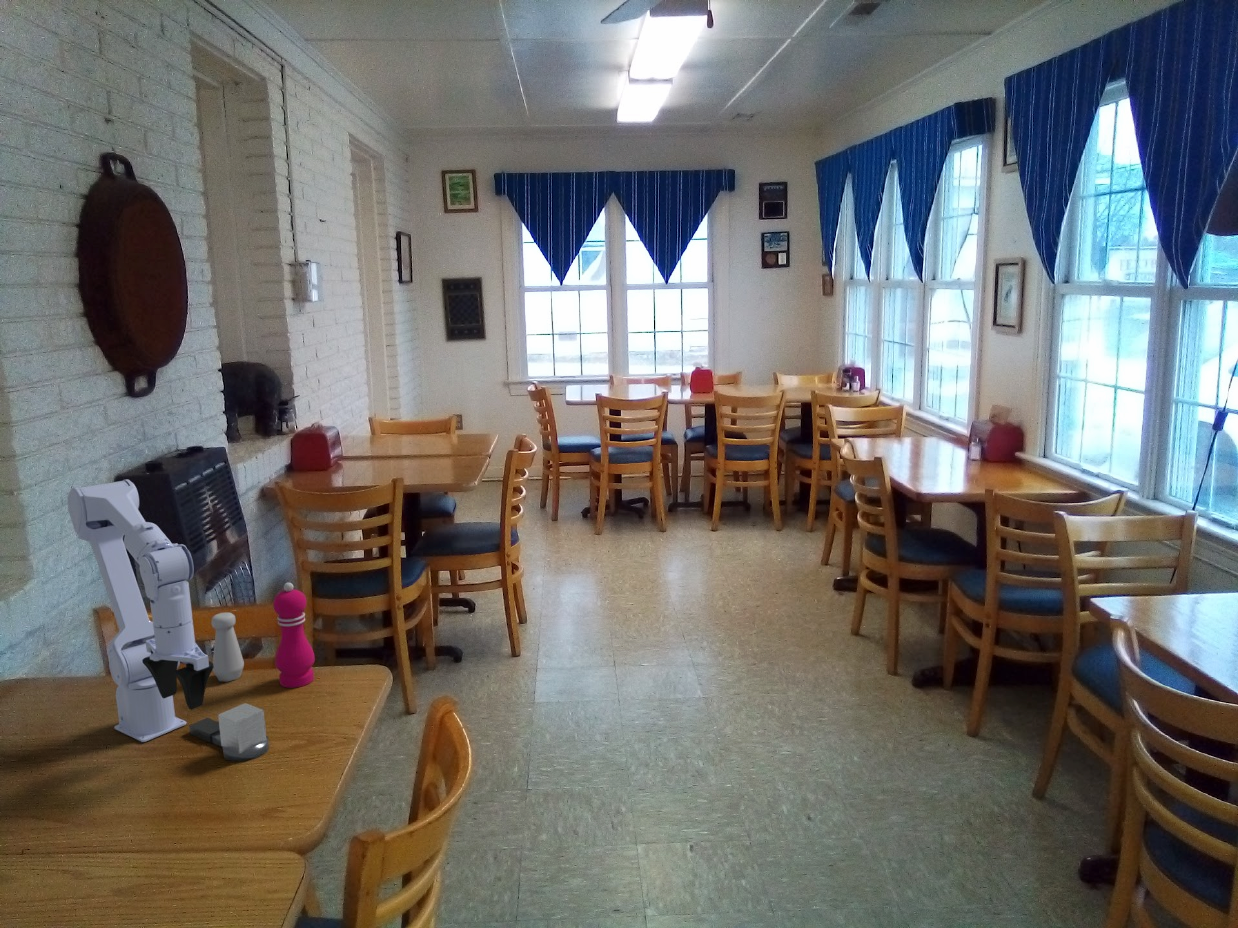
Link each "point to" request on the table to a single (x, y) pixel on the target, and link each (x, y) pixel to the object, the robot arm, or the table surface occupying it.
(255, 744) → the metal cube
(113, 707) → the table surface
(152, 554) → the robot arm
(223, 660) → the salt shaker
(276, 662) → the pepper mill
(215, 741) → the ratchet
